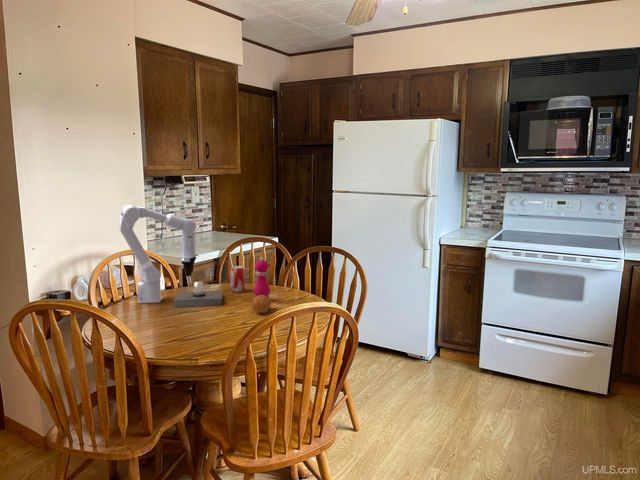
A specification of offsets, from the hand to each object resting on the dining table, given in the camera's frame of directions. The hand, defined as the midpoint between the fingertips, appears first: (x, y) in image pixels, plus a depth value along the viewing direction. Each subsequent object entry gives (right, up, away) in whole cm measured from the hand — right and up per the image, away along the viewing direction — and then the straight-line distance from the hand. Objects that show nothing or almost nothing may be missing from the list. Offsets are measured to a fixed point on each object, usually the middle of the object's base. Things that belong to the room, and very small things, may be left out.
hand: (189, 274), depth 221 cm
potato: (+37, -14, -22) cm, 45 cm away
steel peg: (+7, -12, -8) cm, 16 cm away
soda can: (+21, -9, +11) cm, 25 cm away
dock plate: (+7, -12, -8) cm, 16 cm away
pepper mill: (+35, -12, -6) cm, 37 cm away
